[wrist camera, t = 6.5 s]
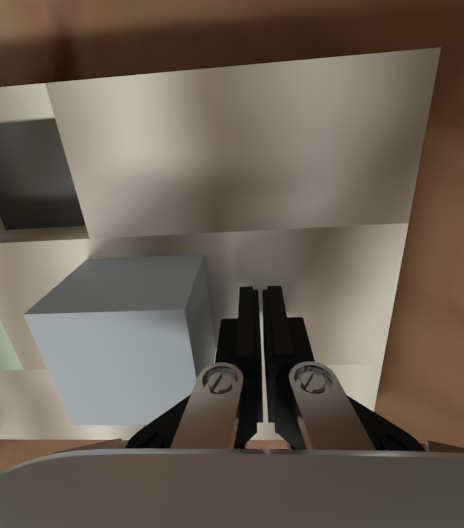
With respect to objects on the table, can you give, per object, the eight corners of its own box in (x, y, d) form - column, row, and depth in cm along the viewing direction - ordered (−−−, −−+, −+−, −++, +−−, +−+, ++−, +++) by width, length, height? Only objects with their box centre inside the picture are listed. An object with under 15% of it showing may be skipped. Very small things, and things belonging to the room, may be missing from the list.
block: (204, 253, 13) (184, 309, 9) (216, 349, 15) (204, 425, 11) (86, 259, 13) (23, 314, 9) (115, 351, 15) (72, 425, 12)
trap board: (409, 58, 11) (520, 18, 6) (357, 408, 19) (391, 501, 14) (-167, 109, 13) (-393, 105, 8) (2, 410, 20) (-67, 493, 16)
